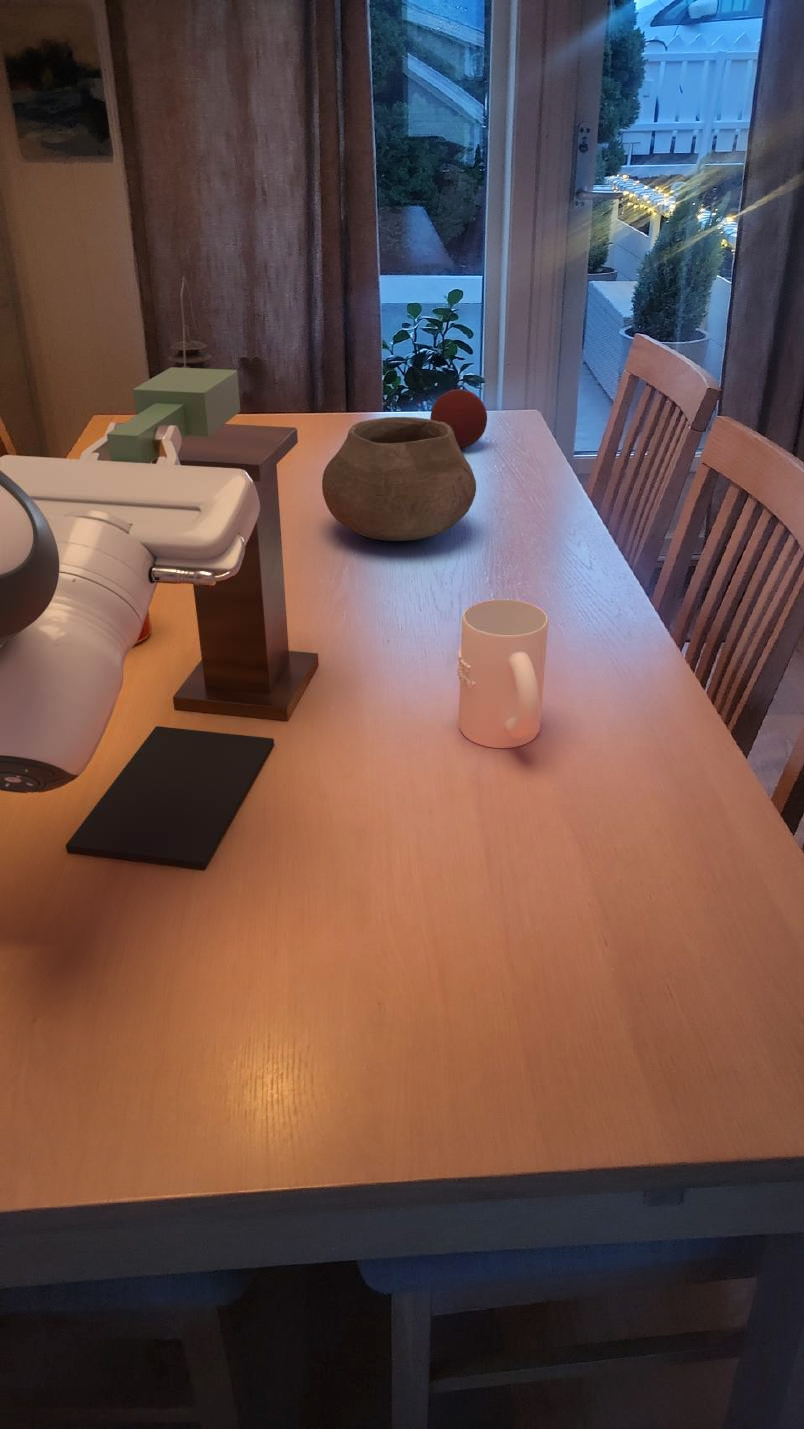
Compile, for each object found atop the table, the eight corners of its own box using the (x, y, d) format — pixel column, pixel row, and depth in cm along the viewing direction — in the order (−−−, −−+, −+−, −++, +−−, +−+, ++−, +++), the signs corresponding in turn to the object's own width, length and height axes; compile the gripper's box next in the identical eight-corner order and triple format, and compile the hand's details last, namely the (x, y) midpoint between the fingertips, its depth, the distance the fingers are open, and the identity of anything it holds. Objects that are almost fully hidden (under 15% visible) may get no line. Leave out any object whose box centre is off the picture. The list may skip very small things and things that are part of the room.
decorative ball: (424, 440, 186) (425, 384, 181) (478, 438, 187) (480, 382, 182) (436, 457, 177) (437, 398, 172) (492, 454, 179) (495, 395, 174)
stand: (287, 721, 102) (270, 465, 89) (174, 709, 104) (140, 457, 91) (318, 665, 112) (307, 428, 99) (214, 655, 114) (189, 421, 101)
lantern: (178, 457, 177) (157, 270, 162) (240, 458, 177) (224, 270, 161) (161, 480, 167) (136, 282, 151) (226, 481, 166) (208, 282, 151)
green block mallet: (165, 471, 75) (159, 422, 73) (88, 466, 76) (80, 418, 74) (240, 411, 89) (237, 370, 87) (175, 408, 90) (170, 367, 88)
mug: (484, 777, 94) (489, 661, 88) (446, 712, 104) (448, 604, 98) (567, 764, 96) (579, 650, 89) (522, 701, 106) (530, 595, 99)
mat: (205, 870, 83) (204, 862, 82) (66, 852, 85) (65, 845, 84) (274, 745, 99) (273, 738, 98) (156, 732, 101) (155, 725, 100)
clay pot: (294, 529, 148) (288, 425, 140) (407, 497, 159) (407, 400, 152) (390, 575, 133) (389, 462, 126) (506, 537, 145) (512, 431, 138)
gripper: (222, 558, 67) (269, 404, 73) (-63, 537, 70) (6, 392, 77) (244, 614, 72) (286, 466, 79) (-22, 592, 76) (40, 452, 82)
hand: (146, 429), depth 78 cm, fingers closed on green block mallet, 2 cm apart
